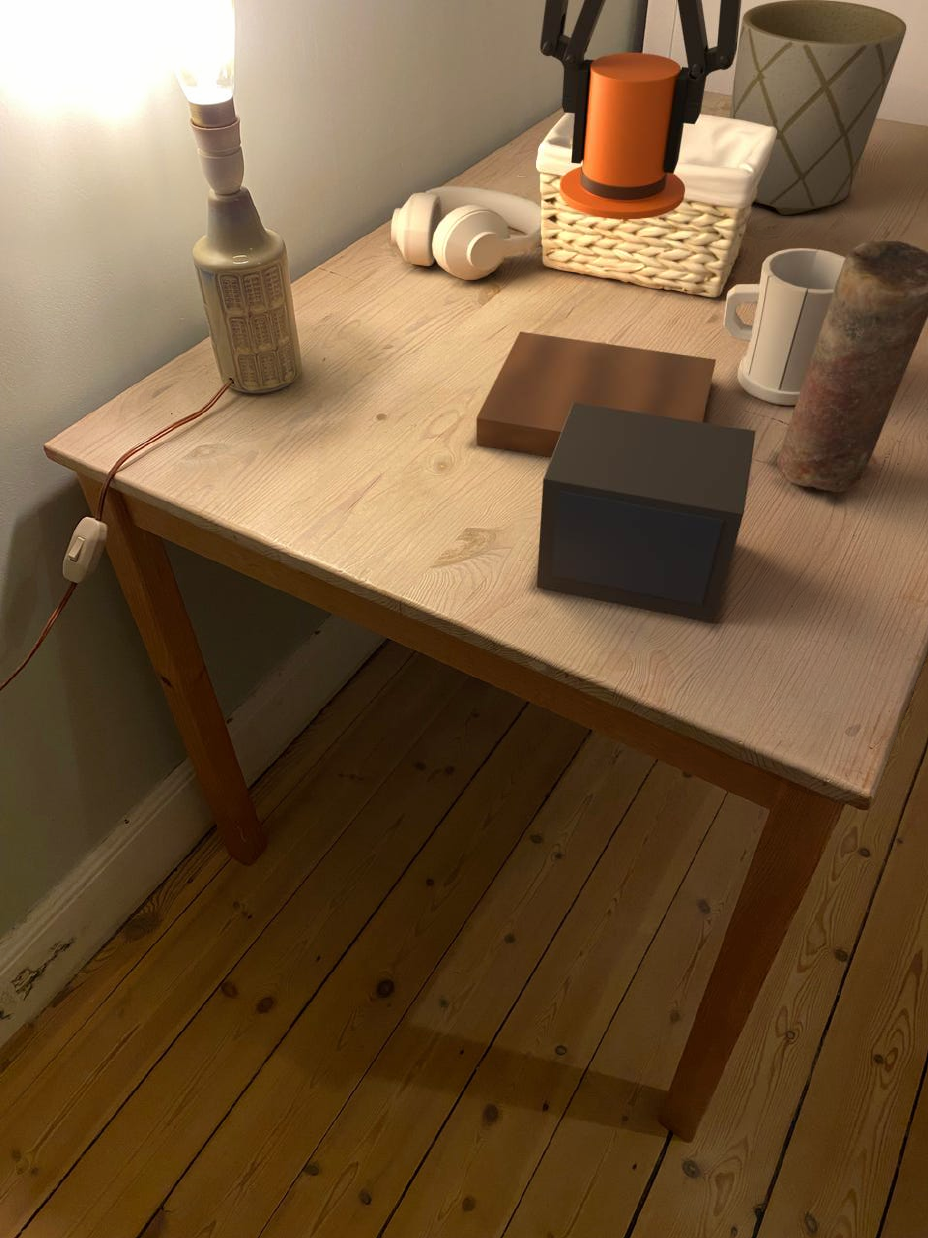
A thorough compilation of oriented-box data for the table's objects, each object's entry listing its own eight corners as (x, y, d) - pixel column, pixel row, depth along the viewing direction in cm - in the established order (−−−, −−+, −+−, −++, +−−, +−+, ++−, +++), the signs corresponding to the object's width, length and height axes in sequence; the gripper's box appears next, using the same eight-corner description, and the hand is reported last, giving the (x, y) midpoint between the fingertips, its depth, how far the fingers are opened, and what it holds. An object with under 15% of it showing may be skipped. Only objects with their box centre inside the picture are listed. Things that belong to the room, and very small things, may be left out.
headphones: (489, 300, 103) (569, 255, 117) (495, 228, 98) (578, 190, 112) (359, 261, 110) (449, 223, 123) (358, 193, 105) (452, 160, 118)
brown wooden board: (710, 385, 92) (716, 359, 90) (689, 480, 82) (695, 453, 80) (519, 356, 96) (520, 331, 94) (476, 444, 86) (476, 417, 84)
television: (727, 539, 76) (755, 430, 68) (713, 625, 70) (743, 515, 62) (563, 509, 79) (573, 401, 71) (535, 589, 73) (542, 479, 65)
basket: (754, 248, 113) (783, 119, 102) (728, 310, 102) (757, 174, 92) (569, 219, 119) (577, 94, 108) (527, 274, 109) (532, 143, 98)
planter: (683, 183, 126) (709, 15, 112) (780, 152, 133) (817, -9, 119) (786, 232, 115) (831, 54, 101) (886, 196, 123) (941, 24, 108)
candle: (868, 462, 83) (951, 248, 69) (856, 510, 79) (942, 291, 64) (784, 442, 85) (847, 230, 71) (767, 487, 81) (830, 271, 66)
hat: (691, 175, 76) (711, 50, 69) (674, 226, 69) (695, 94, 63) (573, 162, 78) (582, 41, 71) (546, 211, 71) (553, 82, 65)
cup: (746, 417, 88) (776, 301, 80) (705, 368, 94) (728, 255, 86) (843, 399, 90) (882, 284, 81) (796, 352, 96) (828, 240, 87)
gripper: (839, -243, 55) (755, 155, 72) (527, -246, 59) (516, 132, 76) (835, -231, 51) (746, 193, 67) (496, -235, 55) (492, 166, 71)
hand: (624, 160), depth 72 cm, fingers closed on hat, 7 cm apart
